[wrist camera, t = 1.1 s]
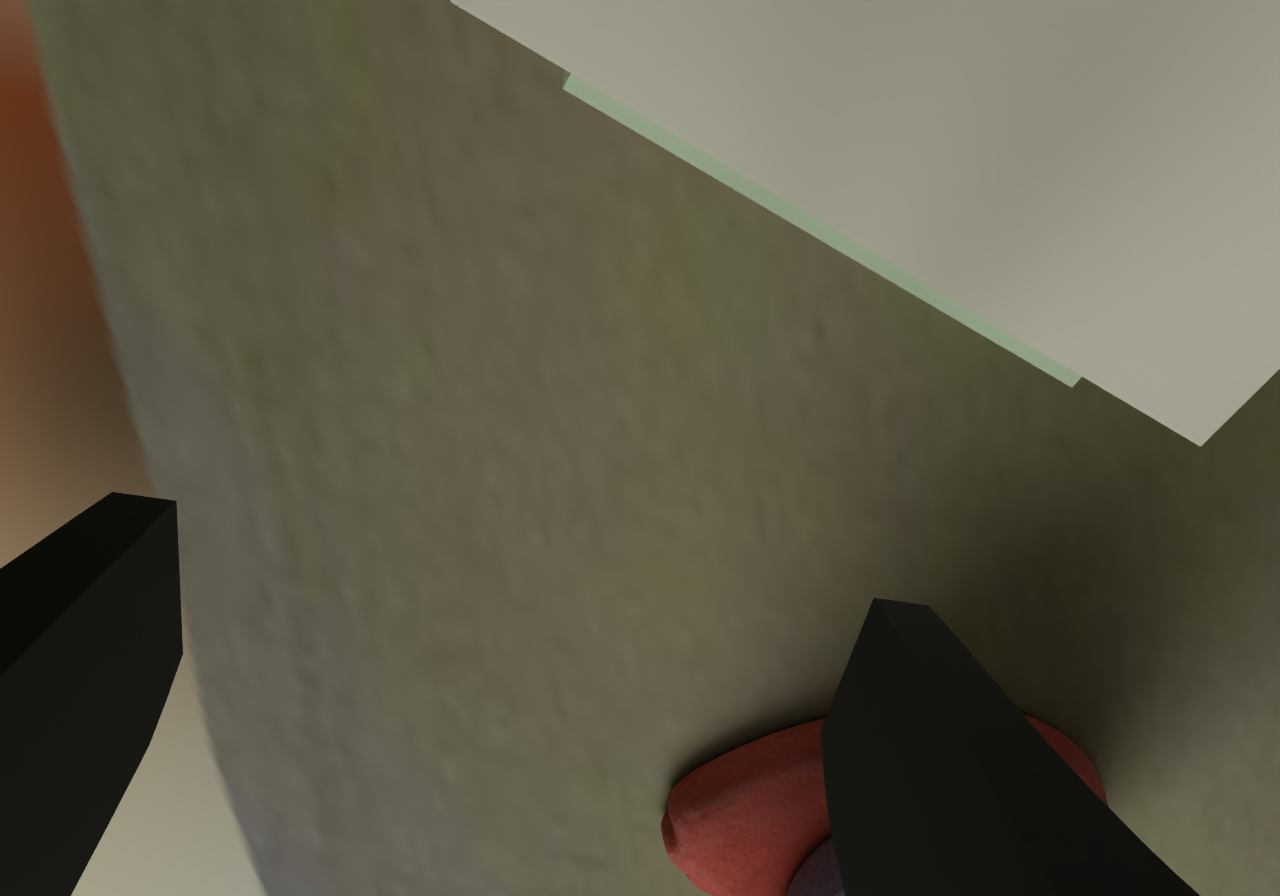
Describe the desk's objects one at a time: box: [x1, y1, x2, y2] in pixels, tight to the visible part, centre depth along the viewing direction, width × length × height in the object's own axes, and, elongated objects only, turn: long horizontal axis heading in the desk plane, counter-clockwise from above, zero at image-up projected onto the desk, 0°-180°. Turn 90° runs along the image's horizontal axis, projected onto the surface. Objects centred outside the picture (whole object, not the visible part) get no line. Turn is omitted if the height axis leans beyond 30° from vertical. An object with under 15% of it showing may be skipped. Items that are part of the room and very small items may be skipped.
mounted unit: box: [451, 0, 1280, 447], centre depth 14 cm, size 13×7×6 cm, turn 59°
